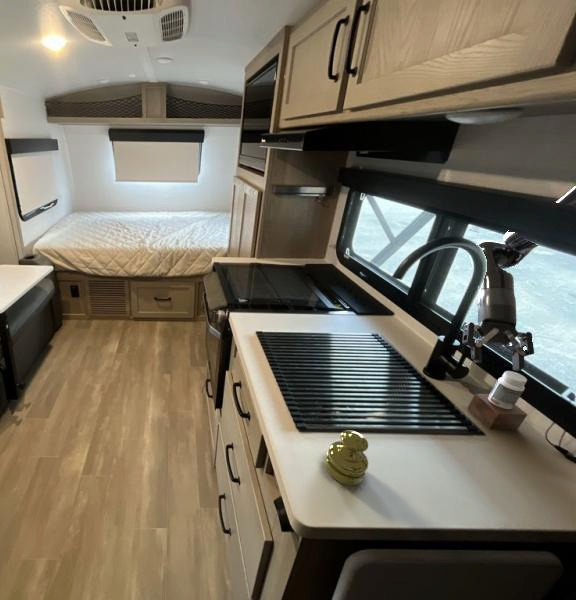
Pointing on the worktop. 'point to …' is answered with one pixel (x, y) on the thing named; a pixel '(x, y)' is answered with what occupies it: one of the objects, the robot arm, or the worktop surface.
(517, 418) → the walnut block
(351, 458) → the gold metal rounded figure
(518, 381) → the pill bottle
